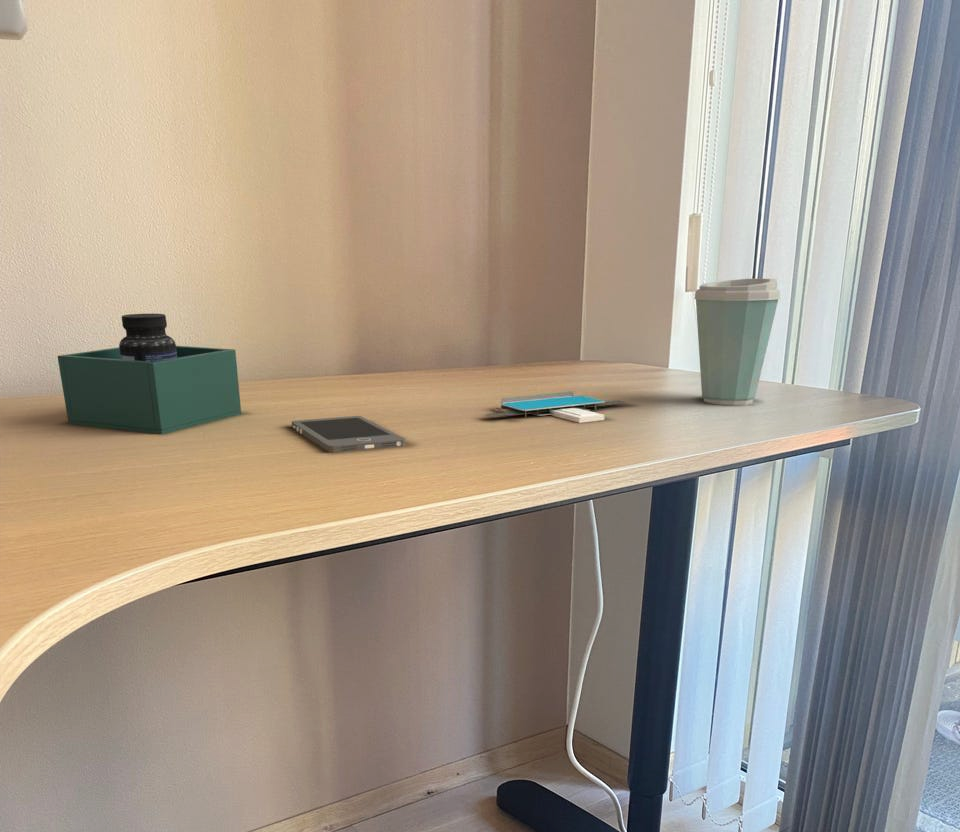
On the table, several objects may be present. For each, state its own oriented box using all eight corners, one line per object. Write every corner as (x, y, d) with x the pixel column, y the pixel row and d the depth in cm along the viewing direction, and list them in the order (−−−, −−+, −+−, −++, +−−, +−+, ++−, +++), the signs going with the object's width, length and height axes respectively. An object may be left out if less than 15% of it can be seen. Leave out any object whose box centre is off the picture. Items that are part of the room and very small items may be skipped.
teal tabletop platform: (519, 431, 106) (520, 416, 105) (464, 414, 115) (464, 400, 114) (657, 414, 115) (658, 400, 115) (596, 400, 125) (597, 387, 124)
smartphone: (289, 427, 107) (288, 420, 106) (359, 421, 110) (359, 415, 110) (329, 453, 94) (328, 446, 94) (406, 446, 97) (406, 439, 97)
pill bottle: (189, 410, 114) (178, 312, 109) (177, 419, 108) (165, 317, 104) (137, 410, 113) (123, 312, 109) (122, 420, 108) (107, 317, 103)
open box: (68, 425, 108) (57, 355, 105) (153, 406, 119) (145, 343, 116) (162, 435, 103) (152, 362, 100) (241, 415, 114) (235, 349, 111)
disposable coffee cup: (724, 412, 117) (737, 281, 111) (667, 399, 126) (676, 278, 120) (786, 405, 122) (802, 279, 116) (727, 393, 131) (739, 276, 125)
